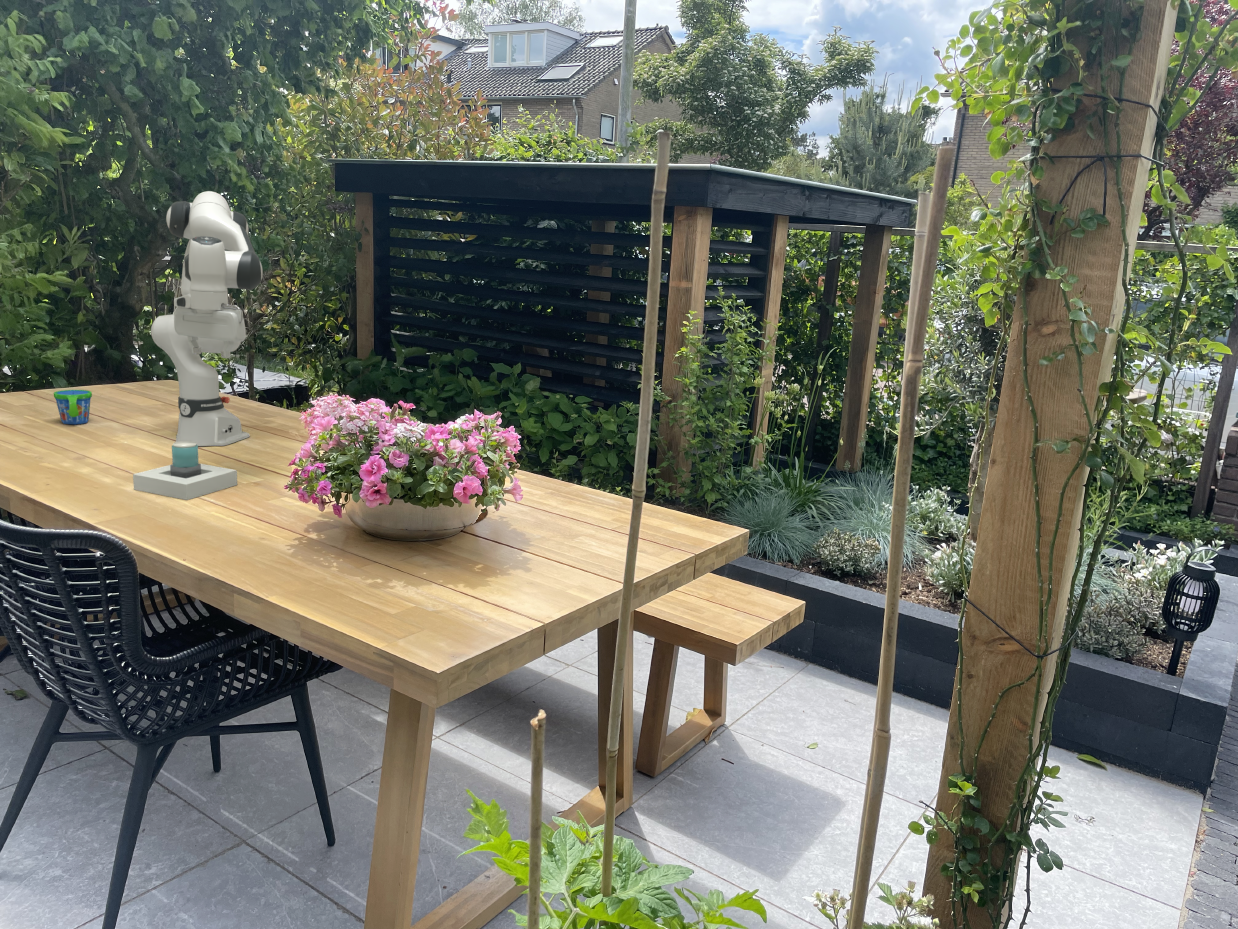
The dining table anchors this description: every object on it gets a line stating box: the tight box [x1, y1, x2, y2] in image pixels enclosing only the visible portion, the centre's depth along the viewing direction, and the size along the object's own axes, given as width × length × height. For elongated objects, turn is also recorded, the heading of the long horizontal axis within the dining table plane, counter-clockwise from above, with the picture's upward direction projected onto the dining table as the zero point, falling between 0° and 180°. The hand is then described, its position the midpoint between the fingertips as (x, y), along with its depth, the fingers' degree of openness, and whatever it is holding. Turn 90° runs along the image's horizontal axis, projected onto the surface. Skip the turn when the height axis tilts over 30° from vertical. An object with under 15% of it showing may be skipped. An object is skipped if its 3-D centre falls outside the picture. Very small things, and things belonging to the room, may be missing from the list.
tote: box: [132, 462, 238, 501], centre depth 228 cm, size 17×17×4 cm
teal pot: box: [171, 441, 200, 468], centre depth 227 cm, size 6×6×6 cm
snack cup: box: [53, 389, 93, 425], centre depth 287 cm, size 16×10×10 cm
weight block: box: [169, 463, 202, 478], centre depth 228 cm, size 5×5×5 cm
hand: (211, 355), depth 230 cm, fingers open, 8 cm apart
